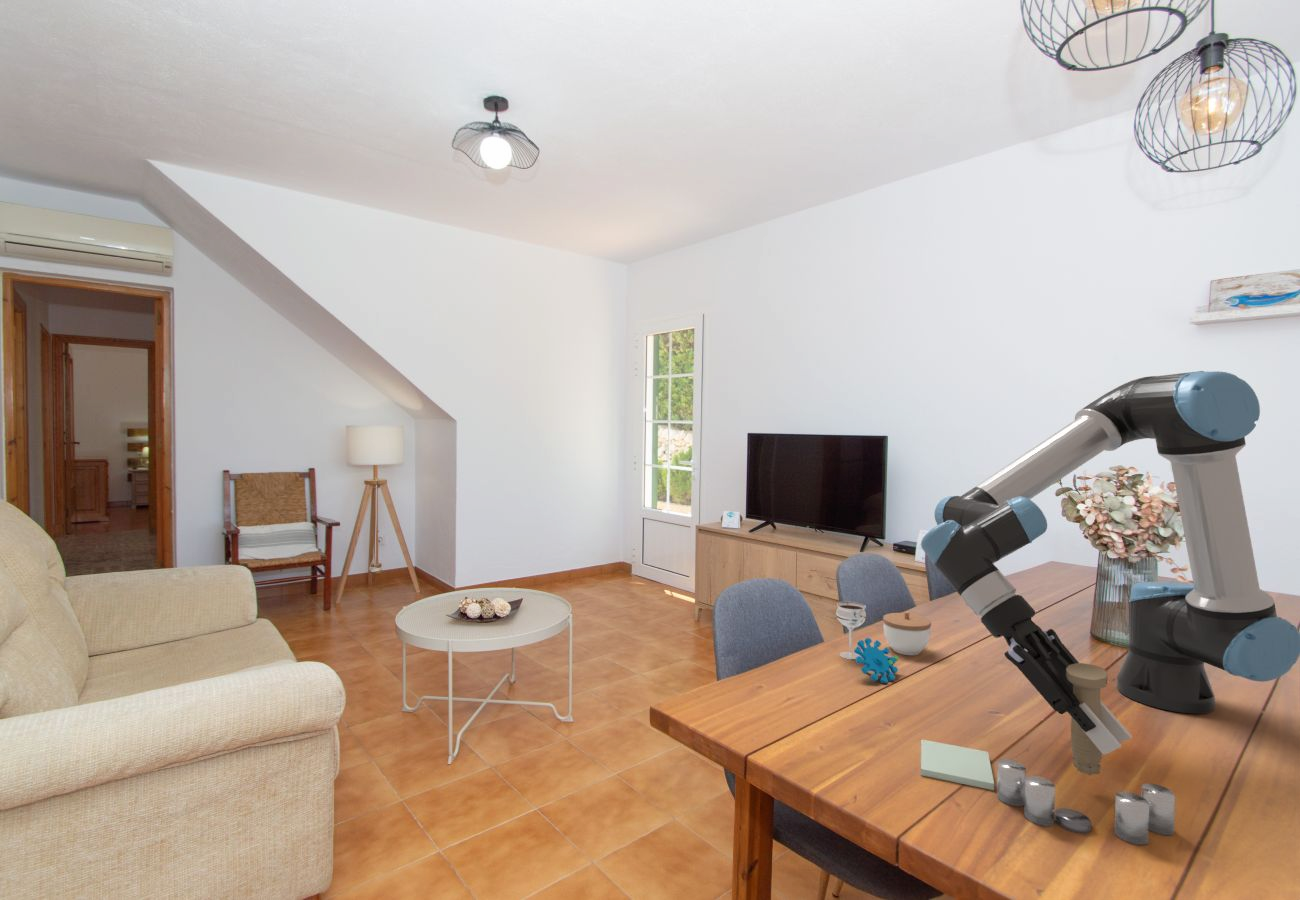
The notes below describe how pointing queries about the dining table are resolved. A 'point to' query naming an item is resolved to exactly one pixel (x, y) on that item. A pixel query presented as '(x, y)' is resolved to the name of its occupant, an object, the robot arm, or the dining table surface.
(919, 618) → the lidded jar
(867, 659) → the gear
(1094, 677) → the handle
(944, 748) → the pad
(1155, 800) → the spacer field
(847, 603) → the wineglass
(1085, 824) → the disc
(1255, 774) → the dining table surface
